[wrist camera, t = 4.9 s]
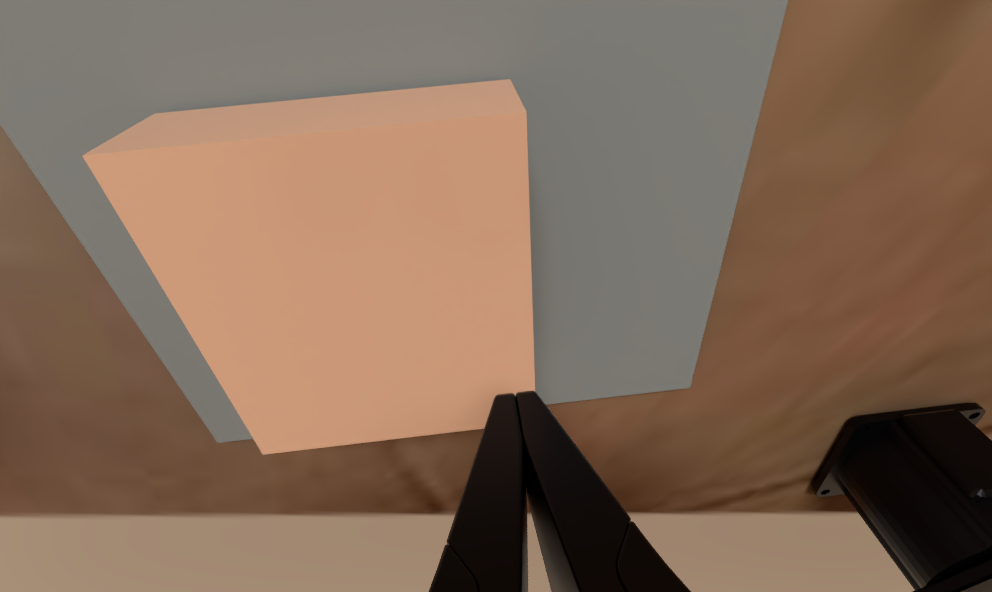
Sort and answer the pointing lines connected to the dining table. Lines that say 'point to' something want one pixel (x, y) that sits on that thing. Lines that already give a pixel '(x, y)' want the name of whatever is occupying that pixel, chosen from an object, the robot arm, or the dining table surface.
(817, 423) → the dining table surface
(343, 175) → the tile
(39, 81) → the mat
